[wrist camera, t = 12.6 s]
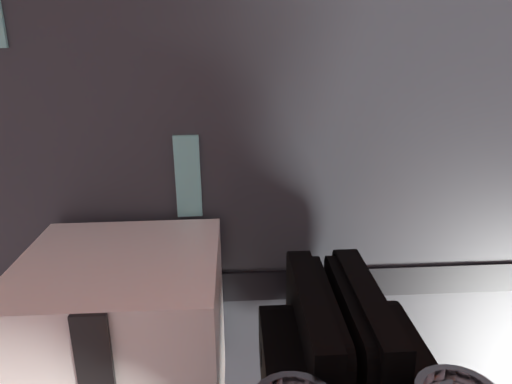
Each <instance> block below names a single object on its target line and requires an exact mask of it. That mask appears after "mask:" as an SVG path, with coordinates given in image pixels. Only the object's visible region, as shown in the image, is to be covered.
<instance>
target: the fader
mask: <svg viewBox="0 0 512 384" xmlns="http://www.w3.org/2000/svg"><path fill="white" fill-rule="evenodd" d="M0 384H225V340H224V315H223V290H222V266H221V241H220V219H189V220H156V221H123V222H90V223H57V224H50V225H49V226H48V227H47V228H46V229H45V230H44V231H43V232H42V233H41V235H40V236H39V237H38V238H37V239H36V240H35V241H34V242H33V243H32V244H31V245H30V246H29V247H28V248H27V249H26V250H25V251H24V252H23V253H22V254H21V255H20V256H19V258H18V259H17V260H16V261H15V262H14V263H13V264H12V265H11V266H10V267H9V268H8V269H7V270H6V271H5V272H4V273H3V274H2V275H1V276H0Z"/></svg>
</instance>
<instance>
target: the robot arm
mask: <svg viewBox="0 0 512 384" xmlns="http://www.w3.org/2000/svg"><path fill="white" fill-rule="evenodd" d="M259 356H260V373H261V380H260V382H259V383H258V384H494V383H493V382H491V381H490V380H489V379H488V378H487V377H485V376H483V375H481V374H479V373H478V372H476V371H474V370H471V369H468V368H465V367H462V366H457V365H450V364H438V363H437V361H436V360H435V358H434V356H433V355H432V353H431V352H430V350H429V348H428V347H427V345H426V344H425V342H424V341H423V339H422V337H421V336H420V334H419V333H418V331H417V329H416V328H415V326H414V325H413V323H412V321H411V320H410V318H409V317H408V315H407V313H406V312H405V310H404V309H403V307H402V305H401V304H400V303H399V302H398V301H395V300H394V301H387V299H386V298H385V296H384V294H383V293H382V291H381V289H380V287H379V286H378V284H377V282H376V281H375V279H374V277H373V275H372V274H371V272H370V270H369V269H368V267H367V265H366V263H365V262H364V260H363V258H362V257H361V255H360V253H359V251H358V250H357V249H338V250H333V252H332V256H325V258H324V267H323V265H322V262H321V260H320V257H319V256H312V254H311V252H310V250H309V251H287V255H286V305H265V306H259Z"/></svg>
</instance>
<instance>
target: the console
mask: <svg viewBox="0 0 512 384" xmlns="http://www.w3.org/2000/svg"><path fill="white" fill-rule="evenodd" d="M189 219H220V241H221V266H222V290H223V315H224V340H225V384H258V383H259V382H260V380H261V373H260V356H259V306H265V305H286V255H287V251H309V250H310V252H311V254H312V256H319V257H320V260H321V262H322V265H323V267H324V258H325V256H332V252H333V250H338V249H357V250H358V251H359V253H360V255H361V257H362V258H363V260H364V262H365V263H366V265H367V267H368V269H369V270H370V272H371V274H372V275H373V277H374V279H375V281H376V282H377V284H378V286H379V287H380V289H381V291H382V293H383V294H384V296H385V298H386V299H387V301H394V300H395V301H398V302H399V303H400V304H401V305H402V307H403V309H404V310H405V312H406V313H407V315H408V317H409V318H410V320H411V321H412V323H413V325H414V326H415V328H416V329H417V331H418V333H419V334H420V336H421V337H422V339H423V341H424V342H425V344H426V345H427V347H428V348H429V350H430V352H431V353H432V355H433V356H434V358H435V360H436V361H437V363H438V364H450V365H457V366H462V367H465V368H468V369H471V370H474V371H476V372H478V373H479V374H481V375H483V376H485V377H487V378H488V379H489V380H490V381H491V382H493V383H494V384H512V0H0V276H1V275H2V274H3V273H4V272H5V271H6V270H7V269H8V268H9V267H10V266H11V265H12V264H13V263H14V262H15V261H16V260H17V259H18V258H19V256H20V255H21V254H22V253H23V252H24V251H25V250H26V249H27V248H28V247H29V246H30V245H31V244H32V243H33V242H34V241H35V240H36V239H37V238H38V237H39V236H40V235H41V233H42V232H43V231H44V230H45V229H46V228H47V227H48V226H49V225H50V224H57V223H90V222H123V221H156V220H189Z"/></svg>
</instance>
